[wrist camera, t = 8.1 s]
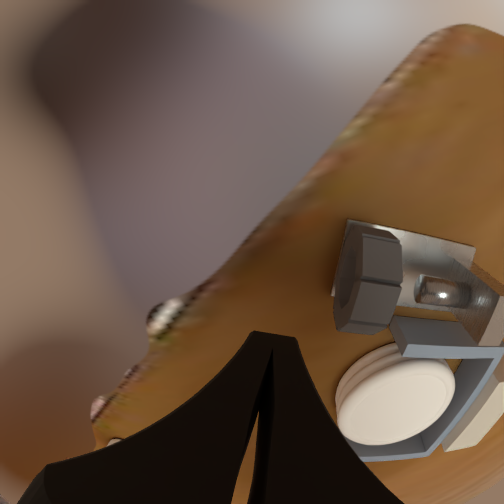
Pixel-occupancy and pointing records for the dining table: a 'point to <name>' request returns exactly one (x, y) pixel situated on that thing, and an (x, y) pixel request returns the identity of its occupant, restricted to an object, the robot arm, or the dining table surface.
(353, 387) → the cream round disc
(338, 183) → the dining table surface
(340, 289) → the wheel
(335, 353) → the dining table surface
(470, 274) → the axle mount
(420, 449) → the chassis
